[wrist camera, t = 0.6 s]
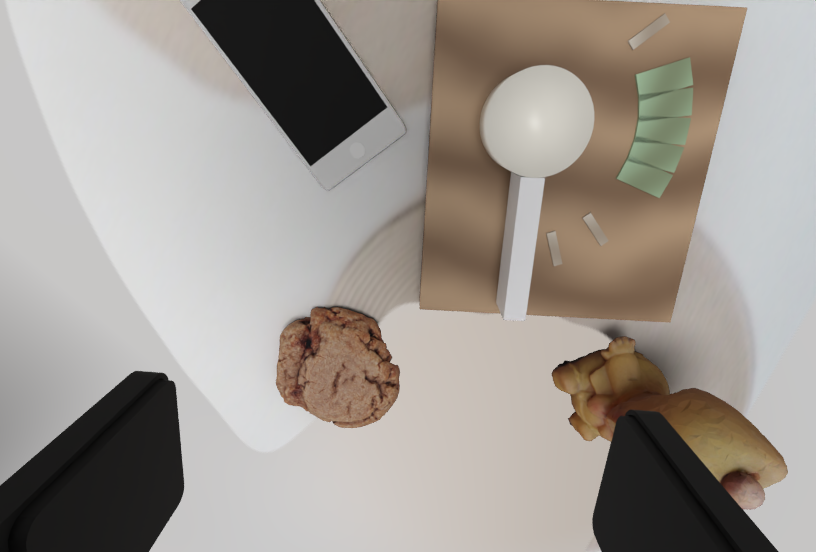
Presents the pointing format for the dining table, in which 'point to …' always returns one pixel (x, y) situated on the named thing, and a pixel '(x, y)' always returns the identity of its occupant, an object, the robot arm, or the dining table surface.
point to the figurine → (670, 417)
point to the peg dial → (531, 160)
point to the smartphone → (303, 80)
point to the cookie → (337, 367)
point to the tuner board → (595, 168)
